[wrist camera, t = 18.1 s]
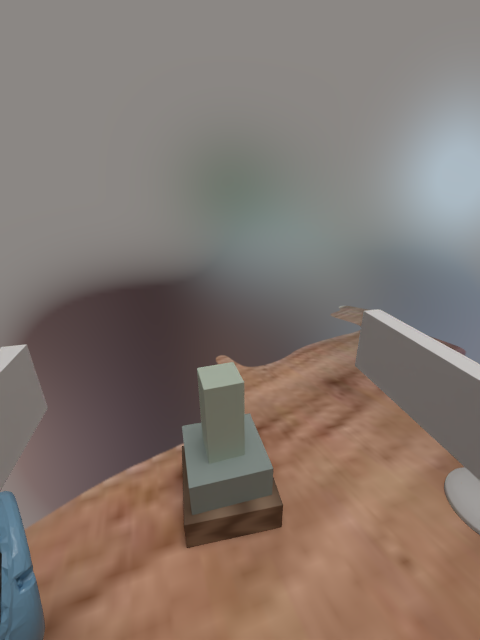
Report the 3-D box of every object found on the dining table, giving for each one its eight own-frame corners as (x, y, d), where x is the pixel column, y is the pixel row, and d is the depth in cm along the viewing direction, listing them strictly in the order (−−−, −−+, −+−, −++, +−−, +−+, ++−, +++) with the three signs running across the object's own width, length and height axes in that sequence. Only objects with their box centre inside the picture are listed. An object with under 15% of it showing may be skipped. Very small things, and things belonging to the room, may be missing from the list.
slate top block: (192, 515, 39) (188, 488, 37) (184, 450, 48) (182, 426, 46) (272, 494, 41) (273, 468, 39) (249, 436, 51) (249, 413, 49)
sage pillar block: (209, 464, 40) (203, 390, 35) (202, 437, 44) (196, 368, 40) (244, 454, 41) (244, 382, 36) (234, 429, 46) (233, 362, 41)
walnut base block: (187, 550, 39) (184, 525, 37) (184, 468, 51) (181, 446, 49) (281, 529, 42) (282, 505, 40) (257, 455, 53) (258, 434, 51)
